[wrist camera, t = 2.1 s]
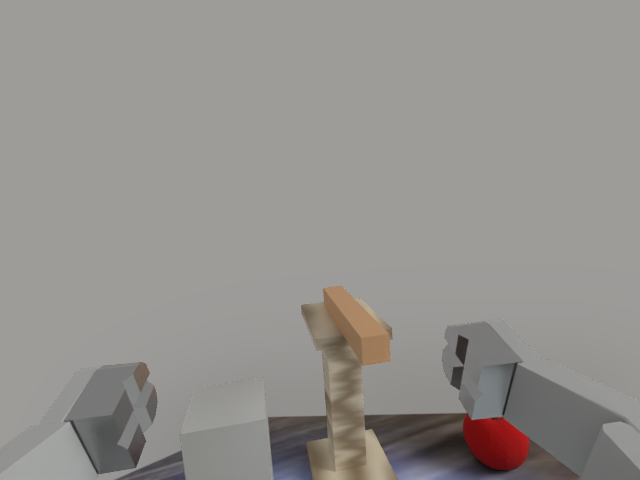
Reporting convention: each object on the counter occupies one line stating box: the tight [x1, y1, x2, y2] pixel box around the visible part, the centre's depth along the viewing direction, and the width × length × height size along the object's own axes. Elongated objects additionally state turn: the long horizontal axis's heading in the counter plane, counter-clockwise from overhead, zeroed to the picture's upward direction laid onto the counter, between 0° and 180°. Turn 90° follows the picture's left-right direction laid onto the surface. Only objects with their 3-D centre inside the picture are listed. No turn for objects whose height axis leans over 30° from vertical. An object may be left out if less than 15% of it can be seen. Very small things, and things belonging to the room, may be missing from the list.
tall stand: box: [301, 298, 398, 480], centre depth 52 cm, size 12×14×26 cm
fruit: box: [463, 413, 529, 470], centre depth 54 cm, size 9×9×10 cm
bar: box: [323, 286, 390, 366], centre depth 45 cm, size 3×20×3 cm, turn 11°
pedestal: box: [180, 377, 274, 480], centre depth 47 cm, size 10×10×17 cm
